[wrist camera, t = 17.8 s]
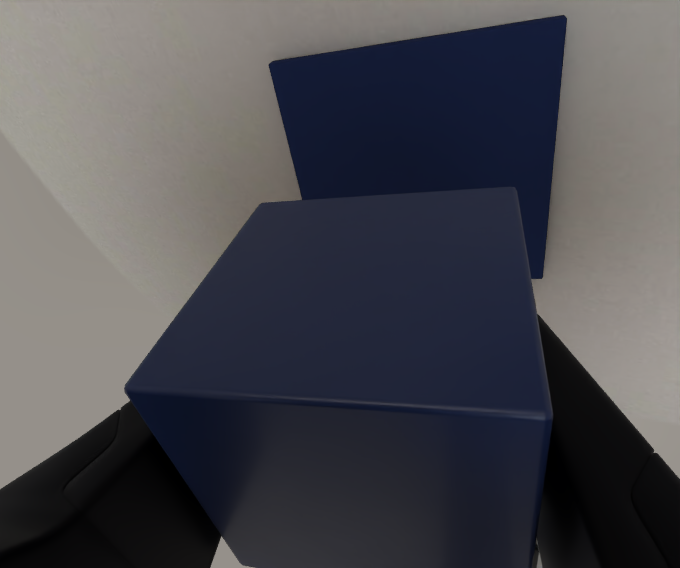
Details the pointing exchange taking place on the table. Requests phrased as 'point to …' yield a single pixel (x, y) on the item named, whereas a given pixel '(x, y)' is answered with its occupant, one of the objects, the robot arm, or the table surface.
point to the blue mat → (431, 117)
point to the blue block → (362, 385)
